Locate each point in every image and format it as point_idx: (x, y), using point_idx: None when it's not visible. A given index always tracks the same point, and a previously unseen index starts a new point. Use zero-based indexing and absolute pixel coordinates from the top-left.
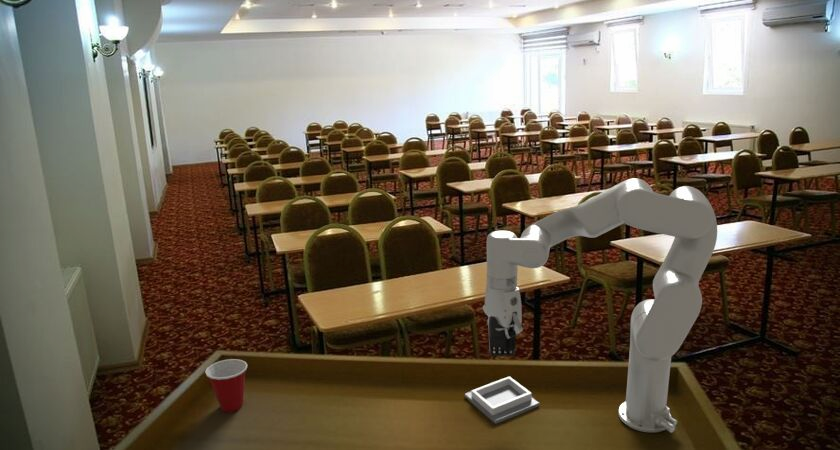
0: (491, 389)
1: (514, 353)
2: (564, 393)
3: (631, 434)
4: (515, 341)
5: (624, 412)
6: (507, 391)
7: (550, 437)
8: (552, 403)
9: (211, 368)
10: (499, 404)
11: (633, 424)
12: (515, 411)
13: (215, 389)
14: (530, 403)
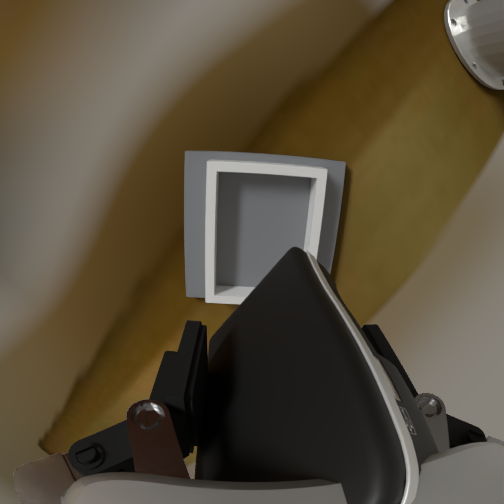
0: (216, 235)
1: (333, 280)
2: (340, 63)
3: (498, 105)
4: (394, 355)
5: (472, 58)
6: (245, 196)
7: (428, 231)
8: (355, 123)
9: None
10: None
11: (498, 86)
12: (332, 241)
13: None
14: (333, 183)
